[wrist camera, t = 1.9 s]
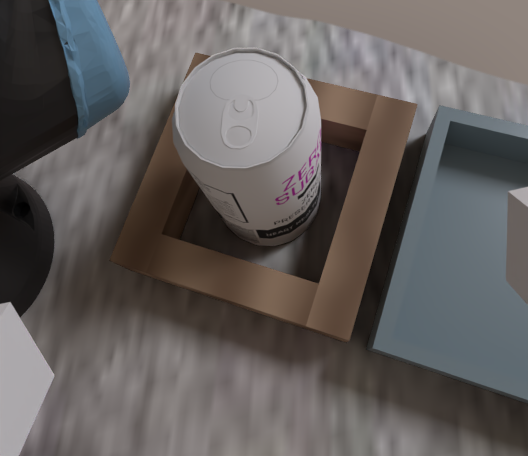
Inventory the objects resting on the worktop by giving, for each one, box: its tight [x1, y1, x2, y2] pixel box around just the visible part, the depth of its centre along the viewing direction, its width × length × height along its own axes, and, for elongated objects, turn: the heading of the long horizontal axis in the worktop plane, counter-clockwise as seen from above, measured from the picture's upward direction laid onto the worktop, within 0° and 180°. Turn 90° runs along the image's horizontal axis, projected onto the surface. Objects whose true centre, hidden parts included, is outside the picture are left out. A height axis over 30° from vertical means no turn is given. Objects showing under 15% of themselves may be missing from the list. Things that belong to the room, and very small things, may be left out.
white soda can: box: [172, 48, 321, 246], centre depth 32 cm, size 8×8×15 cm
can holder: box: [109, 53, 417, 343], centre depth 37 cm, size 18×18×4 cm
